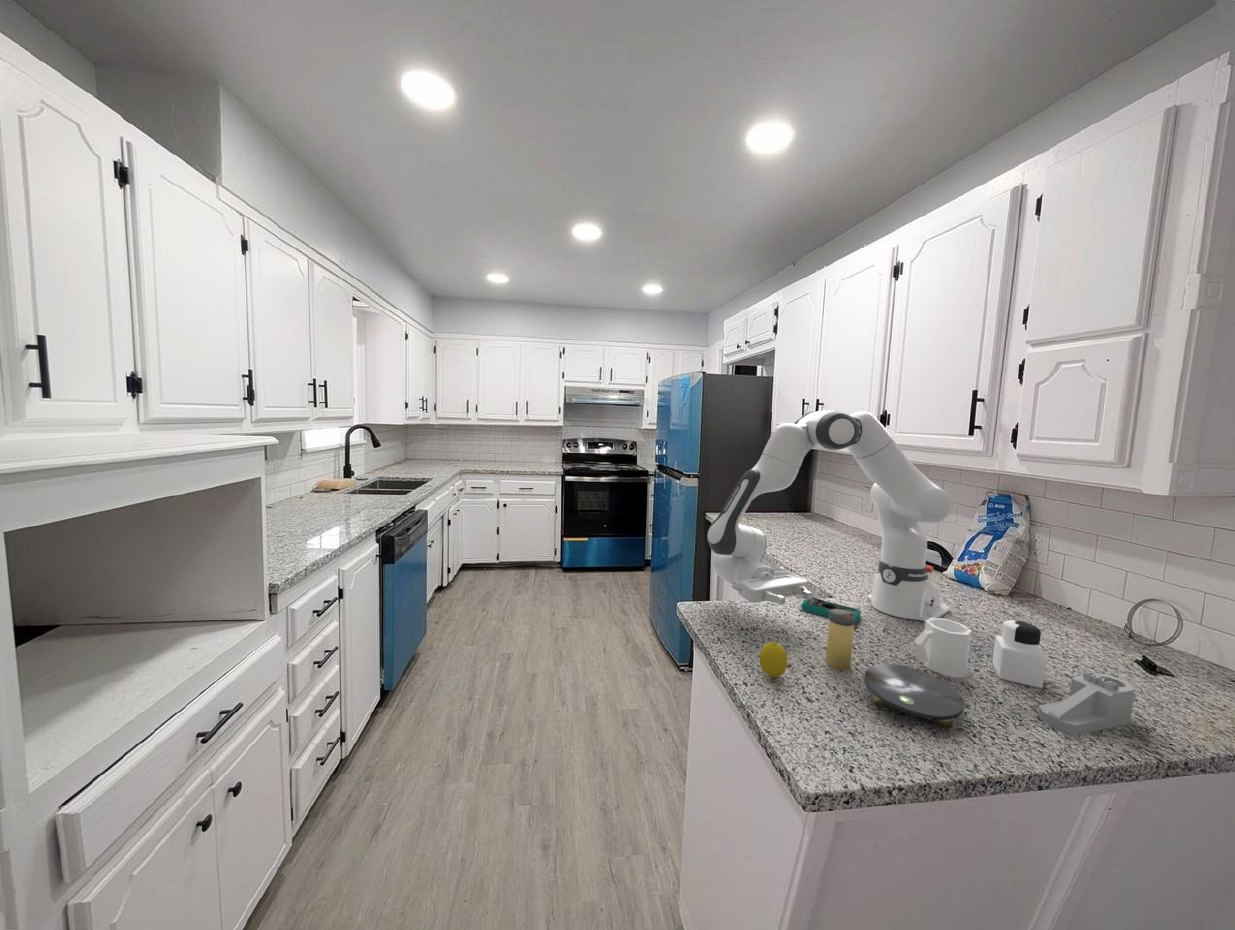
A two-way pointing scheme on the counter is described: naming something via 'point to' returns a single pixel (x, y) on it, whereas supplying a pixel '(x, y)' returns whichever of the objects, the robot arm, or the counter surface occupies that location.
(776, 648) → the lemon
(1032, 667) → the medicine bottle
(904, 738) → the counter surface
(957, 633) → the mug
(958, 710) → the plate
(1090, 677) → the sloped support bracket
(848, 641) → the yellow lidded tumbler
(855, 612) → the digital multimeter
